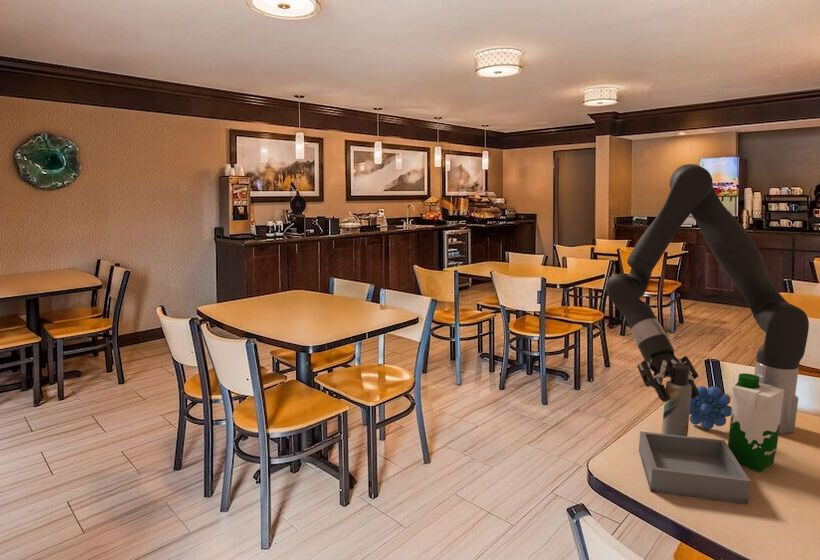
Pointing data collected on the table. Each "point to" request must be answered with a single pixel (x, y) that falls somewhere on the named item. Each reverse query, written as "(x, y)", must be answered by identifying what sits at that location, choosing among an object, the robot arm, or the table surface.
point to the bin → (692, 467)
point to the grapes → (710, 407)
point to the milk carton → (755, 422)
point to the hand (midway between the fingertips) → (681, 398)
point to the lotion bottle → (677, 402)
